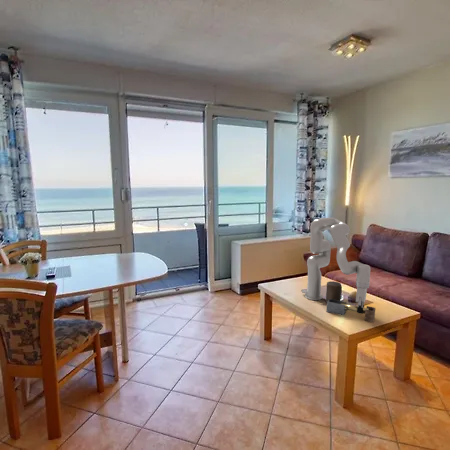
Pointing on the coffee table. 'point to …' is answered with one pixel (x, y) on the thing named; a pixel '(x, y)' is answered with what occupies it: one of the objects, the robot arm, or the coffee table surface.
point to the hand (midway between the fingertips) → (360, 311)
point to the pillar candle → (333, 290)
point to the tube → (353, 308)
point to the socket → (370, 314)
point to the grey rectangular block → (336, 307)
